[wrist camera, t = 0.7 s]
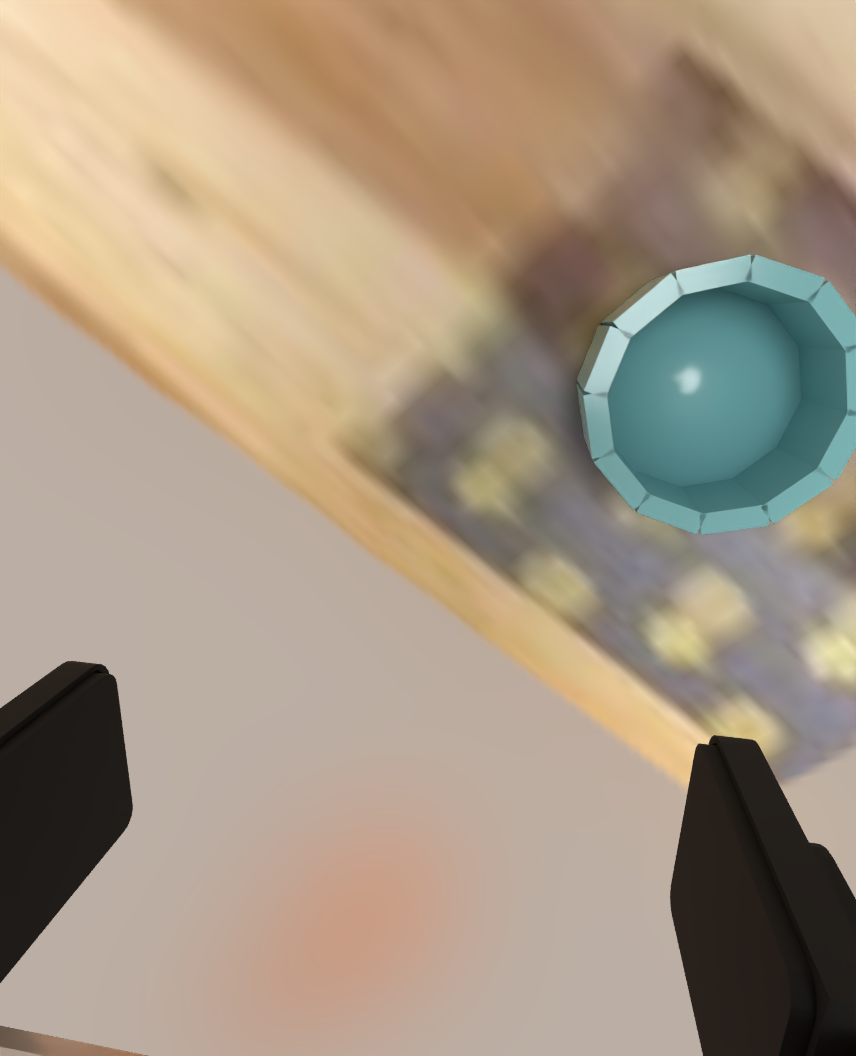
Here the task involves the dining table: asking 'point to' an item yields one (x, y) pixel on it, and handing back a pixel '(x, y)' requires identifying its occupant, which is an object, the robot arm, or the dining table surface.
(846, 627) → the dining table surface
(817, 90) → the dining table surface
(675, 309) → the bowl
